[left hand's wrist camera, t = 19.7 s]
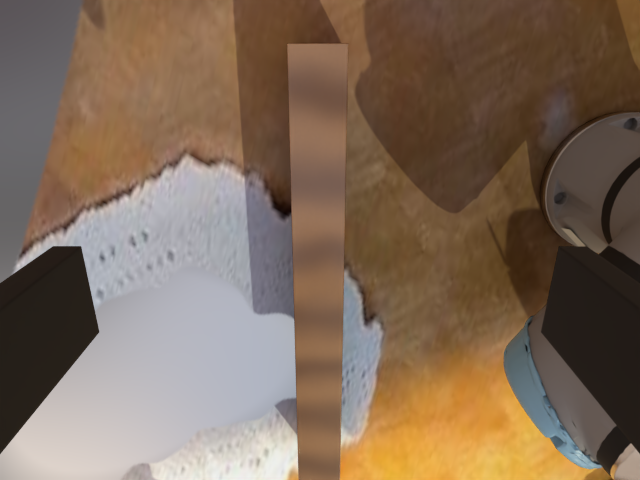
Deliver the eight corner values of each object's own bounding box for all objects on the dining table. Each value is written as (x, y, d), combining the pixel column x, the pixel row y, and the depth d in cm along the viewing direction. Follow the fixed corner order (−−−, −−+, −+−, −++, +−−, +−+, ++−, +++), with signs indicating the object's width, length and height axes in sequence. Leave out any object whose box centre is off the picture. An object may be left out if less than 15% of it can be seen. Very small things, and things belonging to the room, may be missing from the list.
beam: (292, 46, 45) (287, 43, 37) (343, 46, 45) (348, 43, 37) (301, 441, 64) (299, 496, 56) (337, 441, 64) (339, 496, 56)
